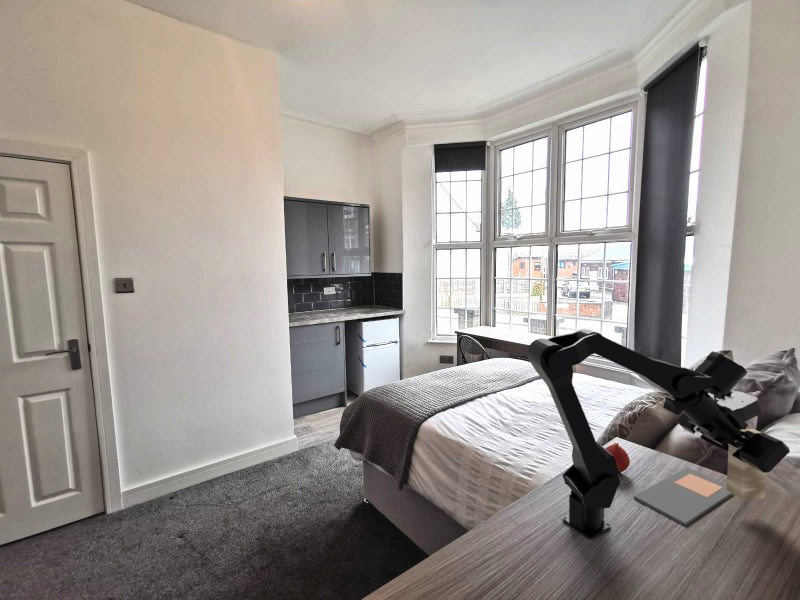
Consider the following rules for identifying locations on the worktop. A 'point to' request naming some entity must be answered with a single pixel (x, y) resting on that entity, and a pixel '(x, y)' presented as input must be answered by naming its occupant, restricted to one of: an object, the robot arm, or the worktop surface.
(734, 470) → the cream block
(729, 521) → the worktop surface
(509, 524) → the worktop surface
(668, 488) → the mat
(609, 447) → the onion
